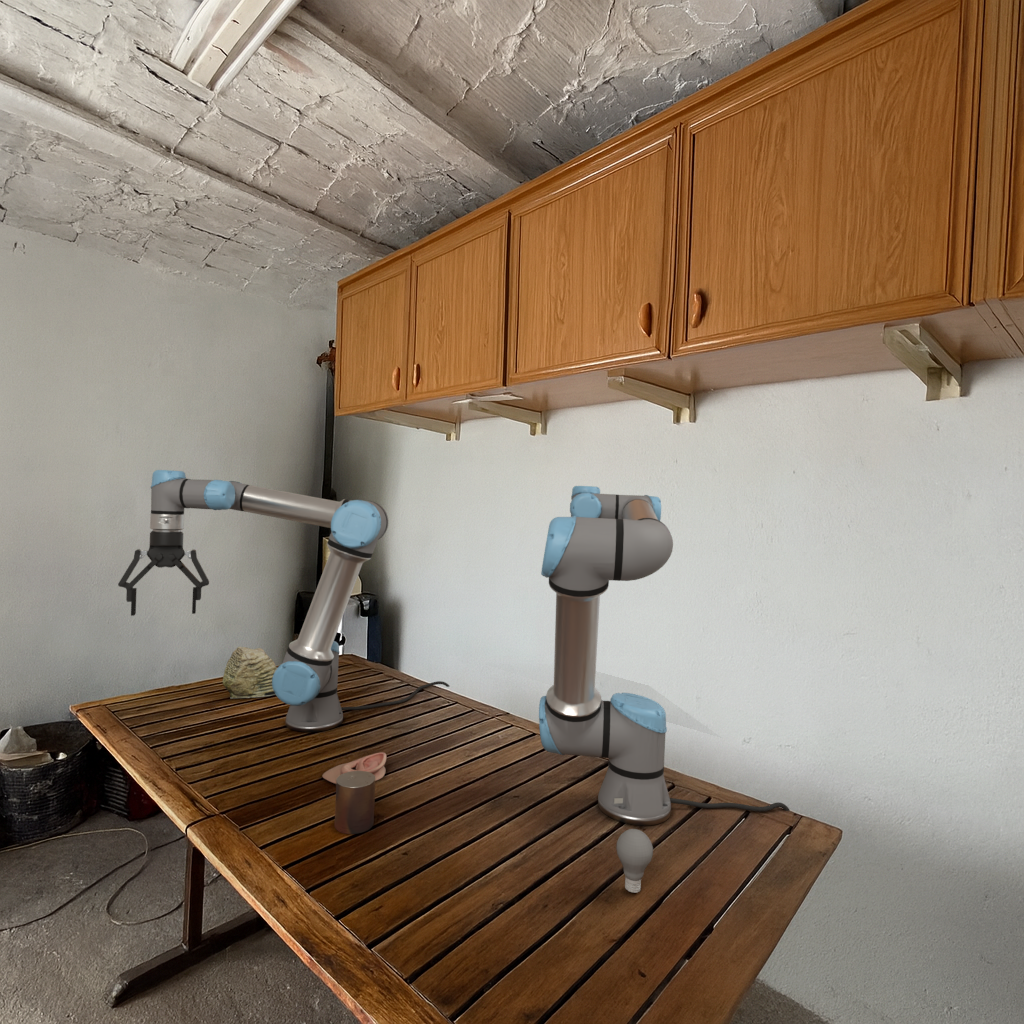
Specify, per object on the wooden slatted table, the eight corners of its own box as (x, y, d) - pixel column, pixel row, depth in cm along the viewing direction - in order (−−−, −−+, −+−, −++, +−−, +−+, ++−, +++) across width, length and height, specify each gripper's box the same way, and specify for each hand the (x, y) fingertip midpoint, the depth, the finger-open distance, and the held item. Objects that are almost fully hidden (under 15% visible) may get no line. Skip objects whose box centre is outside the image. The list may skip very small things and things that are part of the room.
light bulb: (610, 879, 108) (613, 822, 108) (644, 879, 109) (647, 822, 109) (619, 902, 102) (622, 840, 102) (655, 901, 103) (658, 840, 103)
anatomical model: (316, 763, 140) (340, 744, 151) (315, 781, 140) (339, 761, 151) (372, 771, 137) (392, 751, 149) (371, 789, 138) (391, 768, 149)
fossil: (218, 695, 195) (220, 647, 195) (278, 685, 208) (279, 640, 207) (228, 703, 189) (230, 653, 188) (289, 692, 201) (290, 645, 201)
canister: (361, 811, 129) (362, 767, 128) (381, 825, 123) (382, 780, 123) (327, 822, 123) (329, 777, 123) (346, 838, 118) (348, 791, 118)
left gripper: (106, 530, 153) (104, 618, 153) (220, 532, 163) (217, 614, 163) (111, 528, 159) (109, 612, 160) (220, 530, 170) (218, 609, 170)
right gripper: (556, 540, 180) (553, 614, 180) (585, 547, 155) (581, 633, 156) (581, 540, 181) (578, 614, 182) (614, 548, 157) (610, 633, 157)
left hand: (164, 613), depth 162 cm, fingers open, 13 cm apart
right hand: (580, 623), depth 169 cm, fingers open, 13 cm apart
